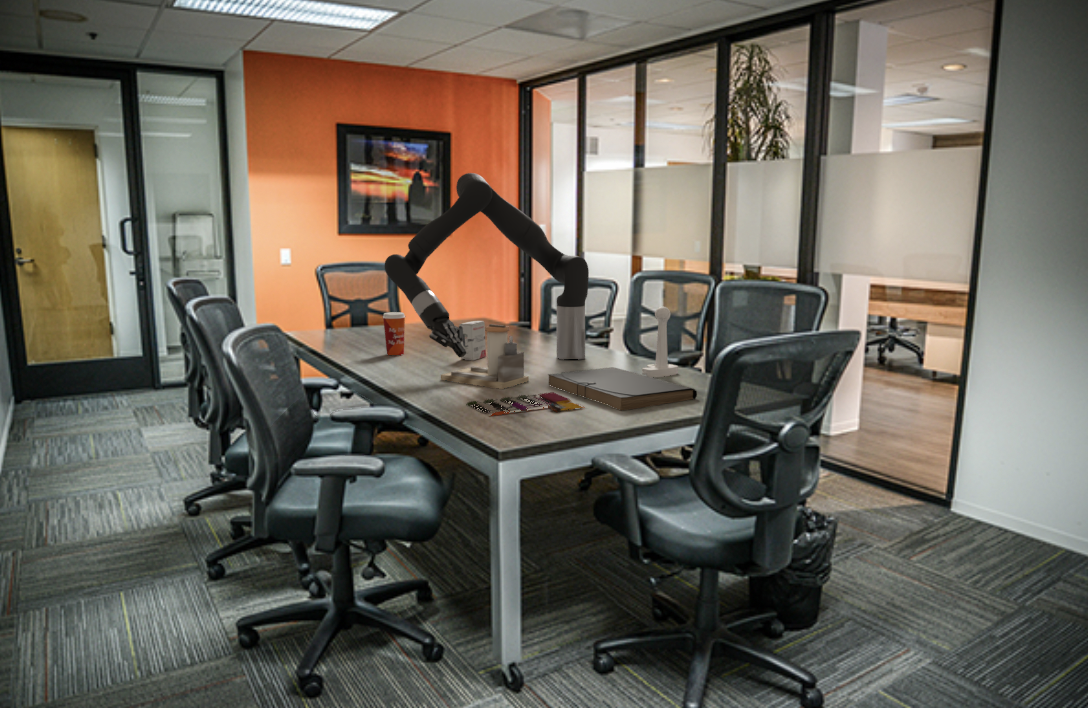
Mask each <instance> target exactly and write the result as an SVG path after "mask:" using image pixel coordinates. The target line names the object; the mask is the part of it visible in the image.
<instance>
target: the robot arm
mask: <svg viewBox="0 0 1088 708" xmlns="http://www.w3.org/2000/svg"><path fill="white" fill-rule="evenodd" d="M455 188H456V194H457V197H458V198H457V200H455V202H454V203H453V205H452V206H450V208H448V210H446V211H445V212H444V213H442V214H441V215H440V216H438V217H436V218H434V219H433V220H431V221H430V222H428V223H426V225H424V226H423V227H422V228H421V229H420V231H418V232H417V233H416V234H415V235H414V236H413V237H412V238H411V240H410V241H409V242H408V243H407V244H408V245H407V247H408V252H407V253H406V255H405V256H403V255H401V254H399V253H398V254H391V255H389V256H387V258H386V259H385V261H384V270H385V274H386V275H387V276H388V278H389V279H390V281H392V282H393V284H395V285H396V287H398V289H399V290H400V291H402V293H403V294H404V295H405V297H406V299H407V300H408V301H409V302H410V304H411V306H412V308H413V309H414V311H415V313H416V314H417V315H418V317H419V318H420V320H421V321H422V323H423V324H424V325H425V327H426V328H427V329H428V330H430V331H431V333H430V334H429V336H428V337H429V338H430V339H431V340H433V341H435V342H436V343H438V344H439V345H441V346H442V347H444V348H447V347H448V348H449V349H452V351H453V352H454V353H455V355H456V356H457V357H458V358H461V357H464V355H465V354H466V350H465V349H464V347H463V346H462V345H461V342H462V340H463V327H462V326H456V325H455V323H454V322H453V321H452V320H451V319H450V313H449V311H448V309H446V308H445V306H444V305H443V303H442V302H441V301H440V299H439V298H438V296H437V295H436V294H435V293H434V292H433V291H432V289H431V288H430V287H429V286H428V284H427V282H426V281H425V280H424V279H423V278H421V277H420V276H418V274H419V272H420V271H421V269H422V267H423V266H424V264H425V262H426V261H427V259H428V258H429V257H430V256H431V255H432V254H433V253H434V252H435V250H438V248H439V247H440V246H441V245H442V244H443V242H445V240H447V239H448V238H449V237H450V236H451V235H452V234H453V233H454V232H456V231H457V230H458V229H459V228H461V227H462V226H463V225H465V224H466V222H468V221H469V220H471V219H472V218H473V217H475V216H476V215H477V214H479V213H482V214H483V215H485V217H487V218H488V220H490V221H491V223H492V224H494V227H496V229H498V231H500V233H501V234H502V235H504V237H505V238H506V239H508V240H509V241H510V242H511V243H512V244H513V245H515V247H517V248H519V249H520V250H521V251H522V252H524V253H525V254H526V255H528V257H530V258H532V260H534V261H536V263H538V264H539V265H540V266H541V267H543V269H545V270H546V272H547V273H548V274H549V275H550V276H551V277H552V278H553V279H554V280H555V281H556V282H558V283H561V284H563V291H562V293H561V294H560V295H558V296H557V297H556V358H557V359H558V358H559V359H558V360H564V359H578V360H586V300H587V298H588V294H589V293H588V292H589V291H588V290H589V271H590V269H589V264H588V263H587V261H586V259H585V258H584V257H582V256H578V255H568V254H564V253H563V252H561V251H560V250H559V249H557V248H556V247H554V246H553V245H552V243H550V242H549V239H548V238H547V235H546V233H545V231H544V230H543V229H542V228H541V227H540V225H538V223H536V222H535V221H534V220H533V219H532V218H531V217H530V216H529V215H526V214H525V213H524V212H523V211H522V210H520V209H519V208H517V207H516V206H514V205H513V204H512V203H510V202H509V201H507V200H506V199H504V198H503V197H502V196H500V195H499V194H498V192H496V190H494V189H493V188H492V186H491V185H490V184H489V183H488V182H487V181H486V179H485V178H484V177H483V176H481V175H480V174H478V173H473V172H467V173H464V174H462V175H461V176H459V177H458V179H457V181H456V187H455Z"/></svg>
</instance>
